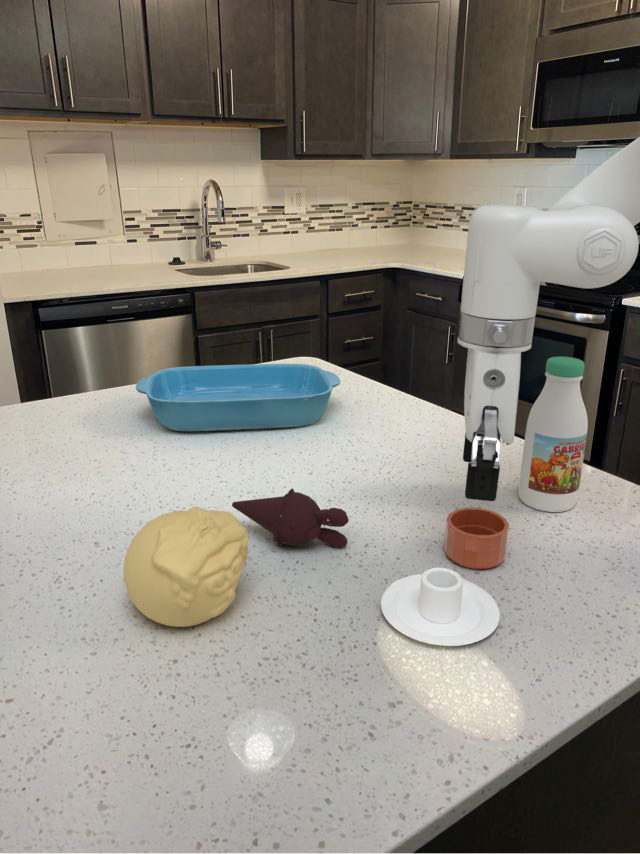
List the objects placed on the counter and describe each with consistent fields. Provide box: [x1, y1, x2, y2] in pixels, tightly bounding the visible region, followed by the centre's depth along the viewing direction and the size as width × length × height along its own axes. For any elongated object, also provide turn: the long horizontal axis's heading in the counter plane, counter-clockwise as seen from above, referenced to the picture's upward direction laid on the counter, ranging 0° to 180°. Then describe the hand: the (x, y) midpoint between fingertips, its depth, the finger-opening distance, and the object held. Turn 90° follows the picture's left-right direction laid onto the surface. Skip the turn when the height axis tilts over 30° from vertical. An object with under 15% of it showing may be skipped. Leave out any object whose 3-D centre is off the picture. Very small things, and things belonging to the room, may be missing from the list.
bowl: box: [443, 507, 510, 570], centre depth 78 cm, size 7×7×4 cm
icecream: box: [231, 488, 349, 549], centre depth 80 cm, size 7×7×15 cm
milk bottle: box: [518, 356, 589, 513], centre depth 88 cm, size 8×8×20 cm
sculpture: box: [123, 506, 250, 628], centre depth 67 cm, size 12×12×11 cm
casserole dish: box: [135, 363, 341, 432], centre depth 122 cm, size 37×22×7 cm, turn 99°
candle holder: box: [380, 566, 501, 647], centre depth 68 cm, size 12×12×4 cm
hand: (477, 479), depth 75 cm, fingers open, 9 cm apart
